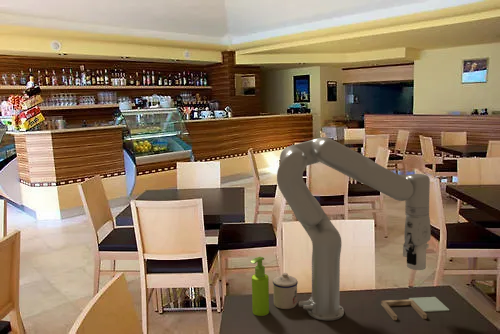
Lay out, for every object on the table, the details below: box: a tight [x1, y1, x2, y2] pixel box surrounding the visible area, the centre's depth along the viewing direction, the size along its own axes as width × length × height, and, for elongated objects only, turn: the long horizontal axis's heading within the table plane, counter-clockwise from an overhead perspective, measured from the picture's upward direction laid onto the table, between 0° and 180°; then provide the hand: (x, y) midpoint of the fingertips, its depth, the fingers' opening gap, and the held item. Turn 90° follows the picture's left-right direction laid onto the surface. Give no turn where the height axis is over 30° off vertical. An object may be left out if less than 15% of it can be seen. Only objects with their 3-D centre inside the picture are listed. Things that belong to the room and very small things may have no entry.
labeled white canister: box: [402, 242, 430, 271], centre depth 143 cm, size 6×8×9 cm
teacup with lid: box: [272, 272, 299, 310], centre depth 153 cm, size 12×9×12 cm
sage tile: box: [408, 296, 450, 313], centre depth 149 cm, size 10×10×1 cm
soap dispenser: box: [250, 256, 270, 317], centre depth 145 cm, size 6×7×20 cm
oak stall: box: [380, 298, 428, 321], centre depth 144 cm, size 11×11×2 cm
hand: (416, 260), depth 143 cm, fingers closed on labeled white canister, 6 cm apart
